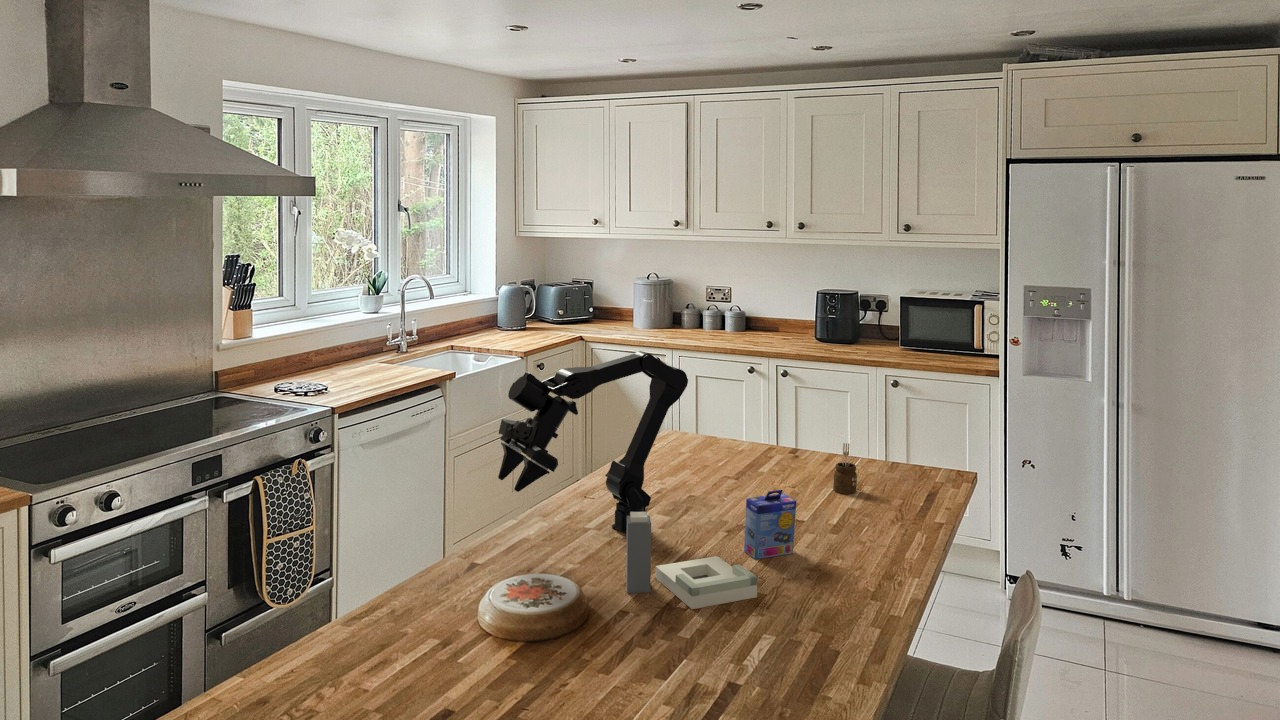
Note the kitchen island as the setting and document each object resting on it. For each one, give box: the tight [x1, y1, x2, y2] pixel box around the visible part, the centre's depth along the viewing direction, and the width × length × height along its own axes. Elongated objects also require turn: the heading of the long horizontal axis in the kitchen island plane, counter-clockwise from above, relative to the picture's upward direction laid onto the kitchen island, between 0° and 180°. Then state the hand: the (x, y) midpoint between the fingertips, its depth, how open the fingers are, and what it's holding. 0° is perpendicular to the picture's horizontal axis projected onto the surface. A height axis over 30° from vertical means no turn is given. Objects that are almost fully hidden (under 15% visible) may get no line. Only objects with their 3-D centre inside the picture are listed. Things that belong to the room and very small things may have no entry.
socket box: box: [655, 555, 759, 610], centre depth 190 cm, size 16×14×4 cm
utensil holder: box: [833, 442, 858, 495], centre depth 252 cm, size 6×6×12 cm
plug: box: [625, 511, 652, 594], centre depth 189 cm, size 4×4×15 cm
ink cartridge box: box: [743, 489, 797, 560], centre depth 208 cm, size 10×6×14 cm, turn 114°
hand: (507, 484), depth 206 cm, fingers open, 9 cm apart
